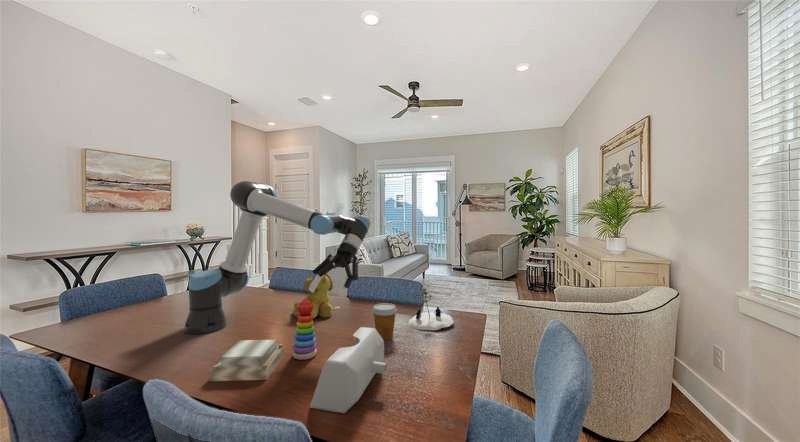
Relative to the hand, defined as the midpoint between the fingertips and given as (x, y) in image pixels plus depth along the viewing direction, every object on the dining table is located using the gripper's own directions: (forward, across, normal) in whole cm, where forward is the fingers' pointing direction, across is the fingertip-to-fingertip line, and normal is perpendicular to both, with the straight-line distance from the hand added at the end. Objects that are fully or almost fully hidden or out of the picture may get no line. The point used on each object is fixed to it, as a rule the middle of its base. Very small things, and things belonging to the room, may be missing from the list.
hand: (324, 292), depth 113 cm
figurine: (-13, -26, -40) cm, 50 cm away
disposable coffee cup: (+3, -16, -25) cm, 30 cm away
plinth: (+30, +10, +3) cm, 32 cm away
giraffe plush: (-5, +28, -32) cm, 43 cm away
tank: (+26, -26, -1) cm, 37 cm away
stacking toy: (+21, 0, -6) cm, 22 cm away
